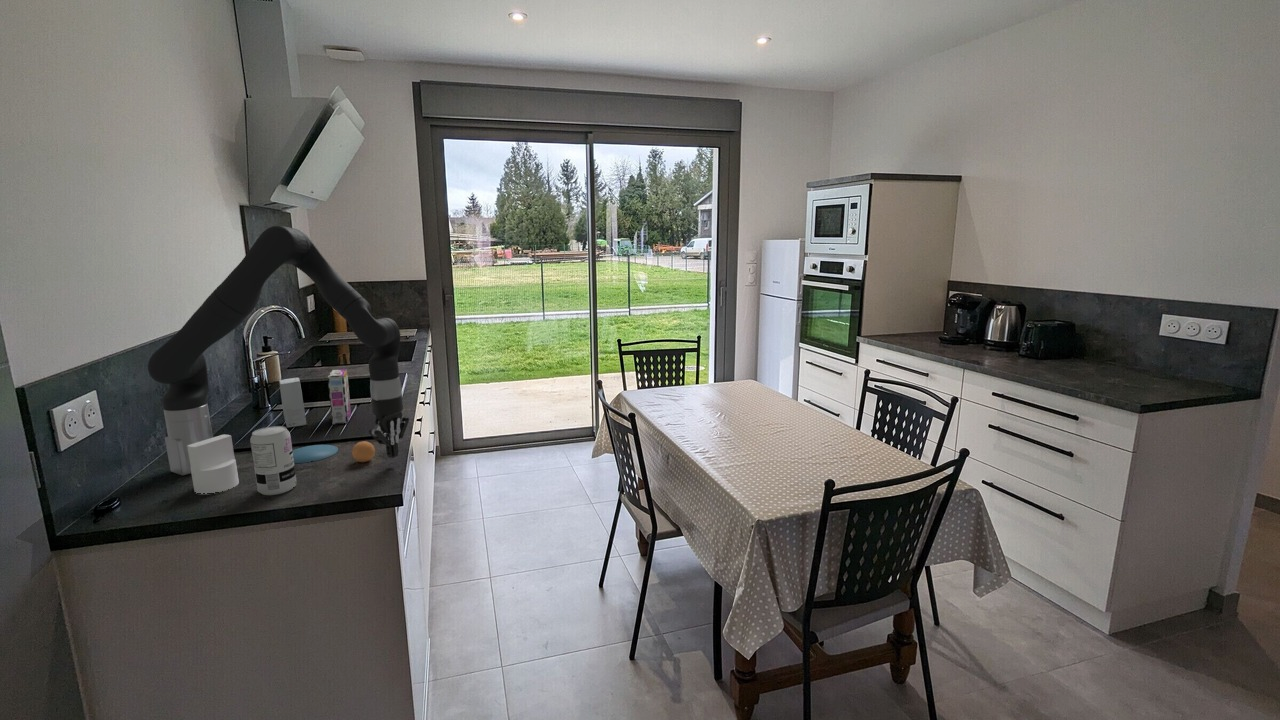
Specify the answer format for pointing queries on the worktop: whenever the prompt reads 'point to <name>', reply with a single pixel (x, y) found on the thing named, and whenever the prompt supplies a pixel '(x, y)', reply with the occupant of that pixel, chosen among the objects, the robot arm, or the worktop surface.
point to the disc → (313, 453)
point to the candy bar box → (339, 396)
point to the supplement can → (273, 460)
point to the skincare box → (292, 402)
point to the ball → (363, 451)
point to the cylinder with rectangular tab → (213, 465)
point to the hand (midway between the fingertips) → (393, 456)
